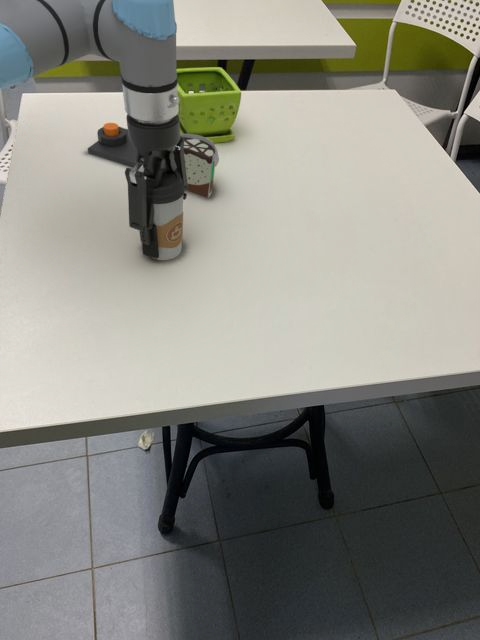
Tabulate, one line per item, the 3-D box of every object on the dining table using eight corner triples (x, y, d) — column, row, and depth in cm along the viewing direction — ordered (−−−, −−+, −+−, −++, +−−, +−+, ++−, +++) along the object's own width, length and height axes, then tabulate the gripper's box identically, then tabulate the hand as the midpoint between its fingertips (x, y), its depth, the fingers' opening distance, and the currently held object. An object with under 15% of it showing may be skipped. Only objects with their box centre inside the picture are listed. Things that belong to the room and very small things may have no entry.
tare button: (101, 134, 109) (100, 127, 107) (109, 129, 111) (108, 121, 109) (114, 138, 108) (112, 130, 107) (122, 132, 110) (121, 125, 109)
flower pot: (183, 152, 113) (181, 95, 103) (167, 124, 121) (164, 68, 111) (240, 146, 117) (243, 90, 108) (221, 119, 125) (222, 65, 116)
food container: (228, 188, 105) (230, 143, 97) (214, 202, 101) (215, 156, 94) (178, 171, 108) (176, 126, 100) (163, 184, 104) (159, 138, 96)
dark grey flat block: (86, 155, 109) (83, 139, 106) (117, 132, 116) (115, 118, 114) (152, 175, 106) (150, 160, 103) (179, 151, 113) (178, 137, 110)
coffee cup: (164, 273, 86) (157, 197, 75) (130, 252, 89) (119, 176, 77) (196, 251, 91) (195, 177, 79) (163, 232, 93) (157, 157, 82)
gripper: (136, 151, 64) (151, 283, 81) (208, 94, 76) (207, 219, 94) (87, 135, 65) (112, 268, 82) (165, 82, 78) (173, 207, 95)
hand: (163, 242), depth 88 cm, fingers closed on coffee cup, 8 cm apart
